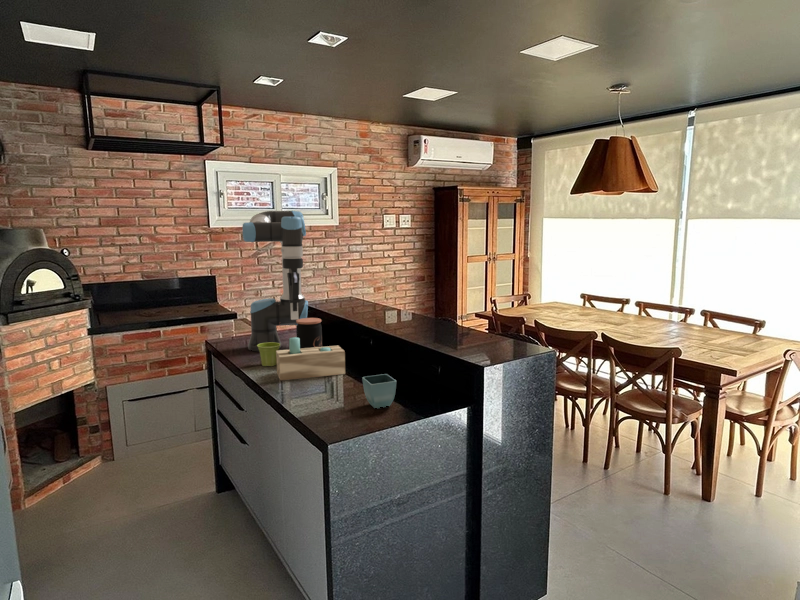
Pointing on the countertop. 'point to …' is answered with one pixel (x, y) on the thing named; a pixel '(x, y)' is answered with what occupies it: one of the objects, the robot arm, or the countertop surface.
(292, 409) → the countertop surface
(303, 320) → the coffee jar
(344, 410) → the countertop surface
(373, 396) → the flower pot
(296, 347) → the peg
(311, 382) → the countertop surface
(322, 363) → the socket block
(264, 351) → the plant pot
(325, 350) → the peg
